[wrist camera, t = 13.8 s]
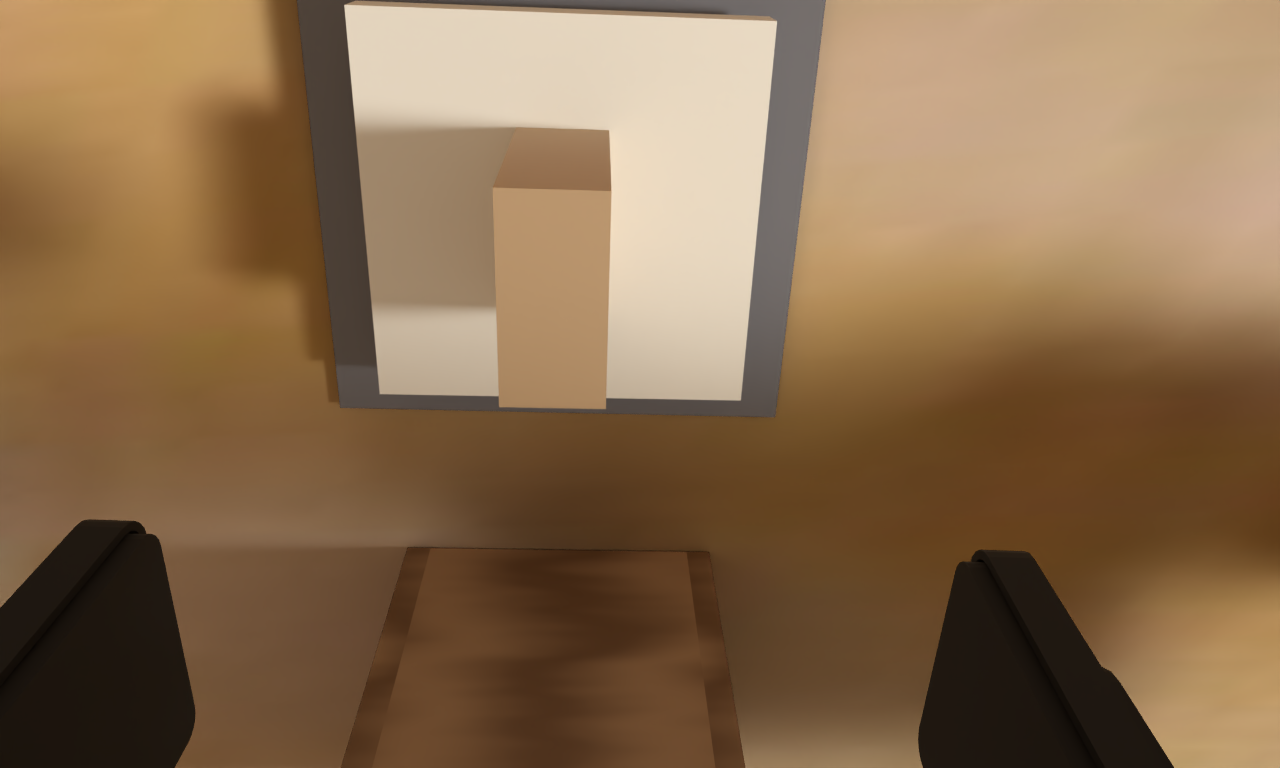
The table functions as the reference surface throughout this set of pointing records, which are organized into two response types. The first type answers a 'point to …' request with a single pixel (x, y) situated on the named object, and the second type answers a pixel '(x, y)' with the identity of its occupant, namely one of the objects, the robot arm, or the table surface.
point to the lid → (559, 198)
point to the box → (549, 664)
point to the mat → (789, 3)
